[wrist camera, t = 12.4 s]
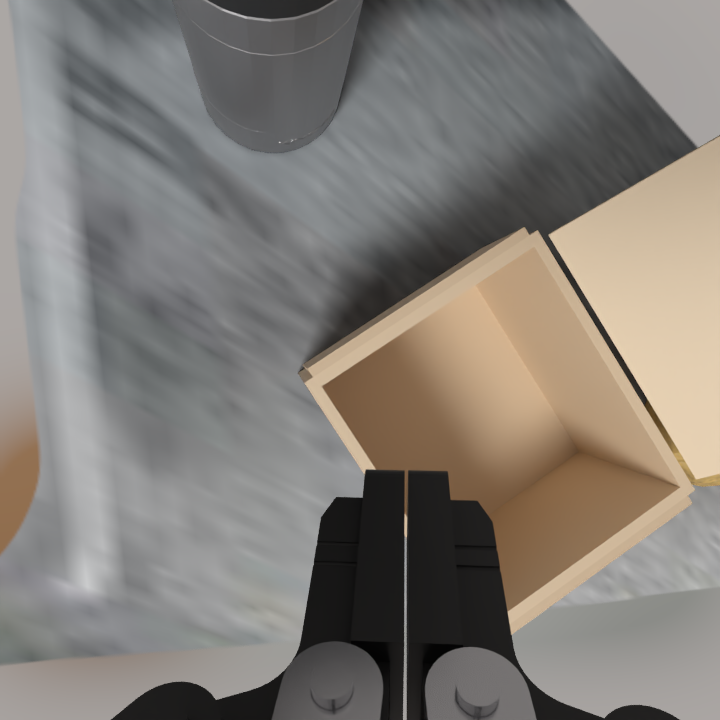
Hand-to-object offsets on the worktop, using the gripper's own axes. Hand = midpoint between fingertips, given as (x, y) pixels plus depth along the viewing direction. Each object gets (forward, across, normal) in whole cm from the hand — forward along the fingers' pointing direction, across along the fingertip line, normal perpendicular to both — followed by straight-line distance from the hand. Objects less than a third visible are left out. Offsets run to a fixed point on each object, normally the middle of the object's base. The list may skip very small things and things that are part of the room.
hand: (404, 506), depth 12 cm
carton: (+28, -3, +17) cm, 33 cm away
